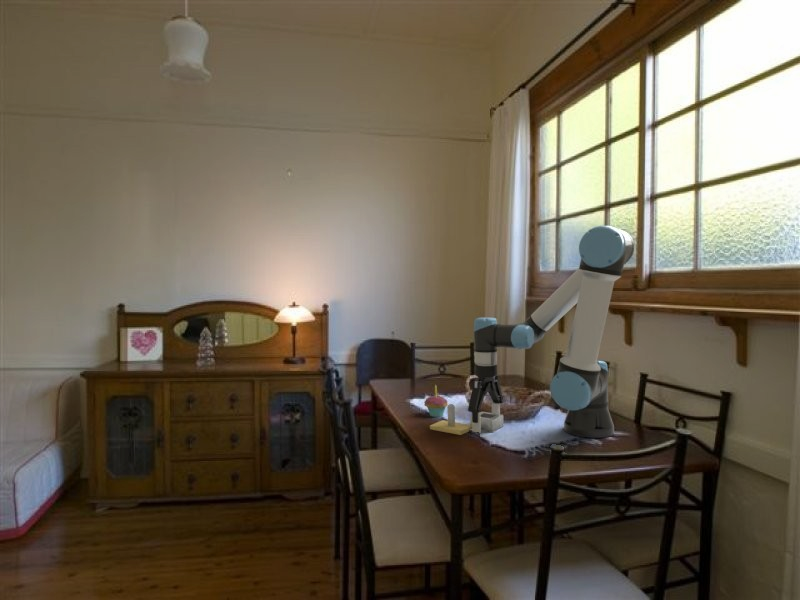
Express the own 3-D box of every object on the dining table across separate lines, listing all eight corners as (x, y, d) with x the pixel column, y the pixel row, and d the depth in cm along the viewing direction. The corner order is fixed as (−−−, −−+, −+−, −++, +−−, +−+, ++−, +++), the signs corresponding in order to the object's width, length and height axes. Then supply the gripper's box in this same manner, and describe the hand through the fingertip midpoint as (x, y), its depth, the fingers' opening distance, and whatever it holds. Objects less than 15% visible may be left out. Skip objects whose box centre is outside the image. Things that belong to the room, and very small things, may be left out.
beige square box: (503, 426, 169) (503, 414, 169) (492, 432, 163) (492, 420, 163) (482, 422, 174) (482, 411, 174) (470, 428, 168) (470, 416, 168)
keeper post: (473, 429, 167) (472, 403, 167) (461, 435, 161) (460, 408, 160) (442, 423, 174) (442, 399, 174) (429, 429, 168) (429, 404, 168)
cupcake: (448, 418, 181) (447, 385, 181) (425, 418, 181) (424, 385, 181) (446, 412, 190) (446, 380, 189) (424, 412, 190) (423, 380, 190)
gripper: (492, 358, 180) (493, 416, 181) (456, 368, 160) (457, 434, 161) (512, 359, 175) (512, 420, 176) (477, 370, 156) (478, 438, 156)
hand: (486, 427), depth 169 cm, fingers open, 13 cm apart
